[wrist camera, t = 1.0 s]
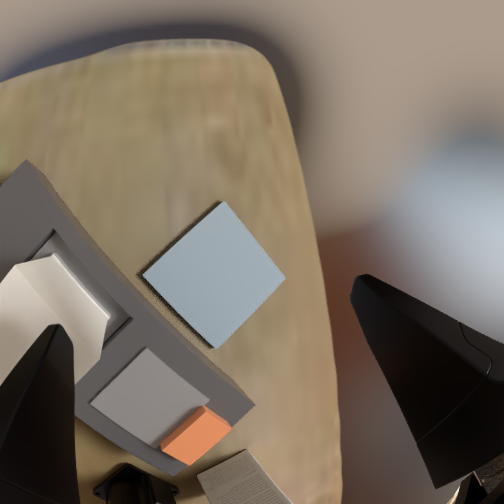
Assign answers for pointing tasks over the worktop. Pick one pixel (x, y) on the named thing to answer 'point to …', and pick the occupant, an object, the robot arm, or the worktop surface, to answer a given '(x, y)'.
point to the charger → (49, 313)
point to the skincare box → (240, 483)
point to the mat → (215, 275)
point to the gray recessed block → (123, 340)
